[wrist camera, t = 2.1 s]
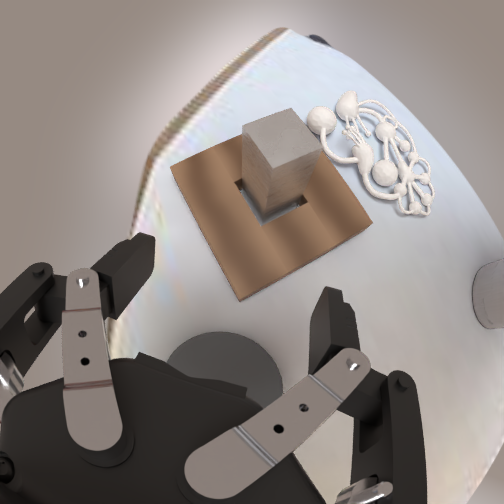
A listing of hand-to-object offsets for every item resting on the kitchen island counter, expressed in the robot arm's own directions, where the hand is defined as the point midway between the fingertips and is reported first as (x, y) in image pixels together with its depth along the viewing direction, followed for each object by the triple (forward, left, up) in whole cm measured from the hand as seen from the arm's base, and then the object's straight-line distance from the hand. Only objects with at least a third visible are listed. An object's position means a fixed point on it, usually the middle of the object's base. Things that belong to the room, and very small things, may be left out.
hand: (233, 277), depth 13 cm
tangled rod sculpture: (-25, -8, -17) cm, 31 cm away
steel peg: (-8, -8, -16) cm, 20 cm away
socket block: (-8, -8, -16) cm, 20 cm away
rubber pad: (+6, +7, -16) cm, 18 cm away
